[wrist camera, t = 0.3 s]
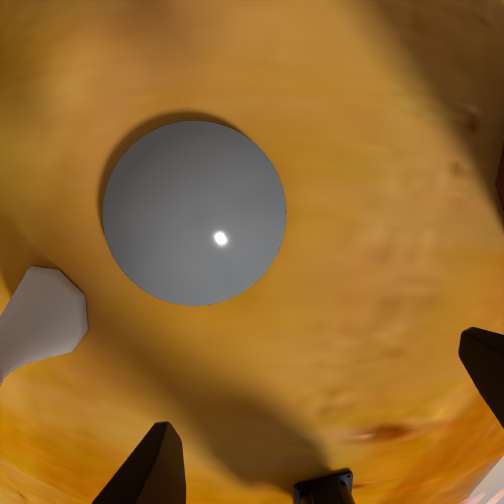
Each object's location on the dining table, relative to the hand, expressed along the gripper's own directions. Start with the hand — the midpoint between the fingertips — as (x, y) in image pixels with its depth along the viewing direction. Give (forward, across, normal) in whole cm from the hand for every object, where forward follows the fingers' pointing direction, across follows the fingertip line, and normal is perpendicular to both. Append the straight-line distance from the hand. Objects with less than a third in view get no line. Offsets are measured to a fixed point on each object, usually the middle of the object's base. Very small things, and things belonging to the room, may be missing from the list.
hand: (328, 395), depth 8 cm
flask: (+14, +18, 0) cm, 23 cm away
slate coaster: (+14, +4, -3) cm, 15 cm away
